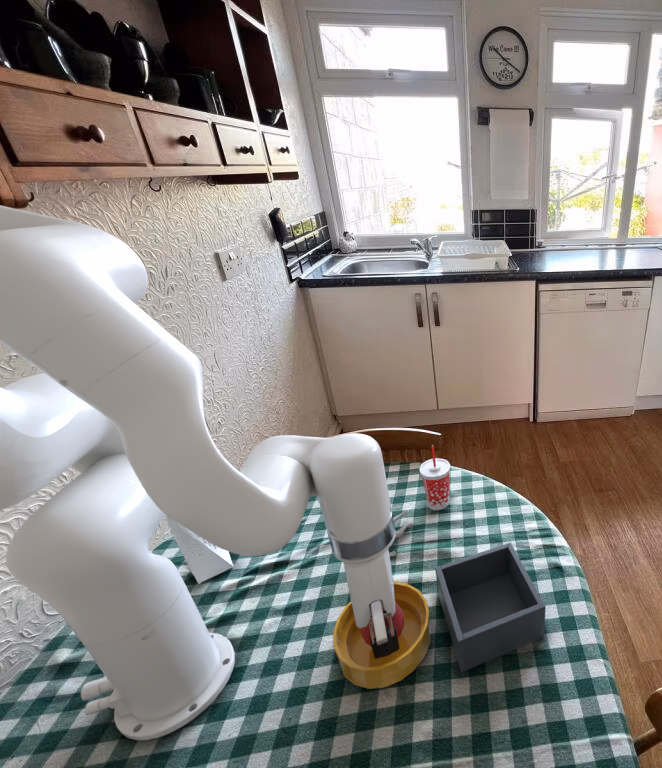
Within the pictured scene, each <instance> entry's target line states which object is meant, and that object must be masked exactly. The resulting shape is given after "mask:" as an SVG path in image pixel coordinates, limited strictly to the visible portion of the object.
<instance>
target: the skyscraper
mask: <svg viewBox="0 0 662 768" xmlns="http://www.w3.org/2000/svg"><path fill="white" fill-rule="evenodd" d="M165 518H166V521H167V523H168V527H169V529H170V531H171V533H172V536H173V538H174V540H175V542H176V544H177V547H178V549H179V550H180V552H181V555H182V556H183V558H184V560H185V563H186V564H187V566H188V568H189V569H190V571H191V573H192V575H193V577H194V579H195V580H196V583H197V584H198V585H200V584H202V583H203V582H205V581H208V580H210V579H211V578H213V577H216V576H218V575H220V574H222V573H224V572H226V571H228V570H231V569H234V568H235V565H234V564H233V561H232V558H231V555H230V552H229V551H226V550H223V549H221V548H219V547H217V546H215V545H213V544H211V543H209V542H207V541H206V540H204V539H202V538H201V537H199V536H197V535H196V534H194V533H193V532H191V531H189V530H188V529H186V528H185V527H183V526H181V525H180V524H178V523H177V522H175V521H174V520H172V519H171V518H170V517H168V516H167V515H166V516H165Z"/></svg>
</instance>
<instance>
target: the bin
mask: <svg viewBox="0 0 662 768" xmlns="http://www.w3.org/2000/svg"><path fill="white" fill-rule="evenodd" d="M434 569H435V577H436V585H437V593H438V599H439V602H440V606H441V609H442V612H443V616H444V619H445V623H446V626H447V631H448V634H449V636H450V640H451V643H452V647H453V650H454V654H455V657H456V660H457V661H456V662H457V664H458V668H459V671H460V673H464V672H466V671H469V670H471V669H473V668H475V667H478V666H480V665H483V664H485V663H488V662H489V661H492V660H495V659H496V658H499V657H501V656H503V655H506V654H508V653H510V652H513V651H515V650H517V649H520V648H522V647H524V646H526V645H529V644H532V643H534V642H536V641H538V640H541V639H542V638H545V629H546V627H545V626H546V625H545V624H546V605H545V603H544V601H543V599H542V597H541V596H540V594H539V592H538V590H537V588H536V586H535V584H534V583H533V581H532V579H531V577H530V575H529V574H528V572H527V570H526V568H525V567H524V565H523V563H522V561H521V558H520V557H519V555H518V553H517V551H516V550H515V548H514V546H513V544H512V542H508V543H505V544H502V545H498V546H496V547H493V548H489V549H487V550H482V551H480V552H477V553H474V554H471V555H468V556H465V557H462V558H459V559H456V560H453V561H450V562H448V563H444V564H442V565H438V566H436V567H435V568H434Z"/></svg>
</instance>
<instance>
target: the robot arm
mask: <svg viewBox="0 0 662 768" xmlns="http://www.w3.org/2000/svg"><path fill="white" fill-rule="evenodd" d="M148 286H149V277H148V273H147V269H146V266H145V265H144V263H143V261H142V259H141V258H140V257H139V256H138V254H137V253H136V252H135V251H134V250H133V249H132V248H131V247H130V246H129V245H128V244H127V243H125V242H124V241H122V240H120V239H119V238H118V237H117V236H115V235H113V234H111V233H109V232H107V231H105V230H103V229H100V228H98V227H95V226H92V225H89V224H85V223H82V222H78V221H74V220H69V219H64V218H60V217H56V216H52V215H46V214H41V213H36V212H33V211H28V210H22V209H18V208H13V207H9V206H5V205H2V204H1V205H0V344H1V345H2V346H4V347H5V348H7V349H8V350H10V351H11V352H13V353H14V354H15V355H17V356H18V357H20V358H21V359H23V360H24V361H26V362H27V363H29V364H30V365H31V366H32V367H34V368H36V369H37V370H38V371H40V372H41V373H37V374H33V375H29V376H26V377H23V378H20V379H18V380H16V381H13V382H10V383H9V384H7V385H5V386H2V387H1V386H0V511H3V510H6V509H9V508H12V507H13V506H16V505H17V504H20V503H22V502H24V501H26V500H28V499H29V498H30V497H32V496H33V495H35V494H37V493H38V492H39V491H41V490H42V489H44V488H45V487H46V486H48V485H49V484H51V483H52V482H53V481H55V480H56V479H57V478H59V477H60V476H61V475H62V474H63V473H65V472H66V471H67V470H68V469H69V468H71V467H72V468H74V469H75V470H76V471H77V472H79V474H78V475H77V476H76V477H75V478H74V479H72V480H71V481H70V482H69V483H67V484H66V485H64V486H63V487H62V488H61V489H60V490H58V491H57V493H55V494H54V495H53V496H51V497H50V498H49V499H47V501H46V502H45V503H43V504H42V505H41V506H40V507H38V508H37V509H36V510H35V511H34V512H33V513H32V514H31V515H30V516H28V518H27V519H26V520H25V521H24V522H23V523H22V524H21V525H20V526H19V528H18V529H17V530H16V531H15V533H14V535H13V536H12V538H11V540H10V542H9V543H8V546H7V549H6V553H5V562H6V568H7V570H8V571H9V573H10V574H11V575H12V577H14V579H15V580H16V581H18V582H19V583H20V584H21V585H23V586H24V587H25V588H27V589H28V590H30V591H31V592H32V593H34V594H35V595H36V596H38V597H40V598H41V599H43V600H44V601H45V602H46V603H47V604H48V605H50V606H51V607H52V608H53V609H54V610H55V611H56V613H58V614H59V615H60V616H61V618H62V619H63V620H64V621H65V623H66V624H67V625H68V626H69V628H70V629H71V630H72V632H73V633H74V635H75V636H76V638H77V639H78V640H79V641H80V643H81V644H82V645H83V646H84V648H85V649H86V651H87V652H88V654H89V655H90V656H91V658H92V659H93V661H94V662H95V663H96V665H97V666H98V668H99V669H100V671H102V673H103V675H104V677H100V678H98V679H95V680H91V681H89V682H86V683H84V684H83V686H82V687H81V690H80V698H81V700H82V701H83V702H86V701H88V702H87V703H86V705H85V709H84V713H85V716H90V715H94V714H96V713H100V712H102V711H103V710H106V709H108V708H110V709H111V710H114V711H113V716H114V717H113V718H114V723H115V726H116V728H117V730H118V731H119V732H120V733H121V735H122V736H125V738H127V739H131V740H134V741H150V740H153V739H159V738H161V737H163V736H166V735H169V734H171V733H173V732H175V731H177V730H178V729H181V728H182V727H184V726H186V725H187V724H189V723H190V722H192V721H193V720H194V719H196V718H197V717H198V716H200V714H202V713H203V712H204V711H205V710H206V709H208V707H209V706H210V705H211V704H212V703H213V702H214V701H215V700H216V699H217V697H218V696H219V695H220V694H221V693H222V691H223V690H224V689H225V687H226V685H227V683H228V682H229V680H230V678H231V676H232V673H233V670H234V667H235V663H236V652H235V650H234V649H235V648H234V647H233V645H232V642H231V641H230V639H228V638H227V637H226V636H224V635H222V634H220V633H217V632H216V633H215V632H210V631H209V630H208V628H207V625H206V623H205V621H204V619H203V617H202V615H201V613H200V611H199V609H198V607H197V605H196V602H195V601H194V599H193V597H192V595H191V593H190V591H189V589H188V587H187V585H186V583H185V581H184V579H183V577H182V576H181V574H180V572H179V569H178V568H177V566H176V565H175V564H174V563H173V562H172V561H171V560H170V559H169V558H167V557H166V556H163V555H161V554H156V553H153V552H151V551H150V550H149V542H150V540H151V538H152V536H153V535H154V533H155V532H156V530H157V529H158V528H159V526H160V524H161V523H162V521H164V518H166V515H167V516H168V517H170V518H171V519H172V520H174V521H175V522H177V523H178V524H180V525H181V526H183V527H185V528H186V529H188V530H189V531H191V532H193V533H194V534H196V535H197V536H199V537H201V538H202V539H204V540H206V541H207V542H209V543H211V544H213V545H215V546H217V547H219V548H221V549H223V550H226V551H229V553H231V554H235V555H240V556H244V557H260V556H267V555H269V554H272V553H276V552H277V551H279V550H281V549H282V548H284V547H285V546H286V545H288V544H289V542H290V541H291V540H292V539H293V538H294V536H295V535H296V534H297V532H298V530H299V528H300V526H301V523H302V520H303V519H304V515H305V512H306V510H307V506H308V505H309V501H310V498H312V497H316V498H317V500H318V505H319V507H320V510H321V515H322V518H323V522H324V525H325V530H326V534H327V537H328V541H329V544H330V548H331V551H332V554H333V556H334V557H335V558H336V559H337V560H338V561H340V562H342V563H343V568H344V574H345V578H346V579H345V580H346V583H347V584H346V585H347V588H348V594H349V598H350V602H351V603H352V607H353V612H354V617H355V622H356V626H357V627H358V628H363V627H366V626H367V625H368V623H369V629H370V634H371V636H370V642H371V646H372V650H373V654H374V658H375V659H378V658H380V657H386V656H388V655H390V654H392V653H393V652H396V651H398V650H399V642H398V637H397V632H396V627H393V623H392V618H391V615H392V616H393V615H394V614H395V612H396V610H395V598H394V587H393V582H394V578H393V570H392V563H391V557H390V556H389V553H390V551H389V549H390V547H392V545H393V543H394V541H395V540H396V538H395V534H396V533H395V532H396V526H395V524H394V521H393V518H394V516H393V508H392V503H391V498H390V493H389V487H388V481H387V475H386V469H385V463H384V457H383V452H382V449H381V447H380V445H379V443H378V442H377V440H375V439H374V438H373V437H372V436H370V435H367V434H364V433H358V432H357V433H354V432H352V433H343V434H339V435H336V436H333V437H319V436H307V435H294V434H281V435H274V436H269V437H268V438H265V439H264V440H262V441H260V442H259V443H258V444H257V445H255V447H254V448H253V449H252V450H251V452H250V453H249V455H248V456H247V458H246V460H245V461H244V463H243V465H242V466H241V467H240V469H239V470H238V469H237V468H236V467H235V466H234V465H233V464H232V463H230V462H229V461H228V460H227V458H226V457H225V456H224V455H223V454H222V452H221V451H220V449H219V448H218V446H217V445H216V444H215V442H214V439H213V438H212V436H211V434H210V432H209V429H208V426H207V421H206V419H205V411H204V374H203V371H204V370H203V366H202V363H201V361H200V358H199V357H198V356H197V355H196V354H195V353H194V352H192V351H191V350H190V349H189V348H188V347H186V346H185V345H184V344H183V343H182V342H180V341H179V340H178V339H177V338H176V337H175V336H174V335H172V334H171V333H169V332H168V331H167V330H166V329H165V328H164V327H163V326H162V325H160V324H159V323H158V322H157V321H156V320H154V319H153V318H152V317H151V316H149V314H147V313H146V312H145V311H144V310H143V309H142V308H141V307H140V306H138V305H137V303H138V302H139V301H140V300H141V299H142V298H143V297H144V296H145V294H146V292H147V289H148ZM382 606H383V608H384V611H383V609H382ZM371 612H372V615H371ZM385 618H387V621H388V626H389V627H386V626H385V620H384V619H385ZM110 692H111V694H110V695H108V696H105V697H101V698H98V699H94V698H97V697H100V696H103V695H105V694H107V693H110ZM92 699H94V700H92ZM89 700H92V701H89Z"/></svg>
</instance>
